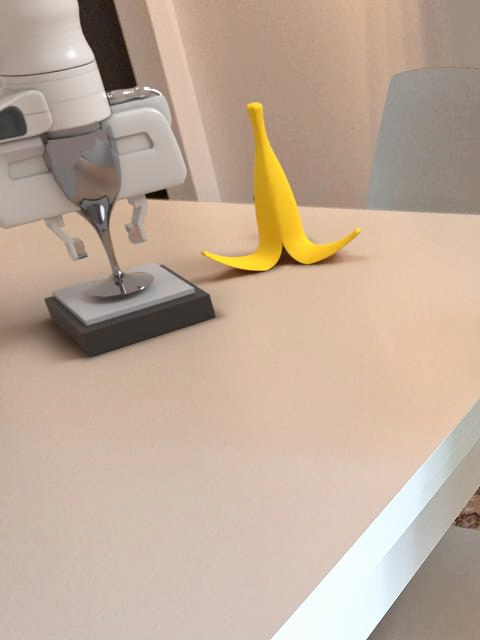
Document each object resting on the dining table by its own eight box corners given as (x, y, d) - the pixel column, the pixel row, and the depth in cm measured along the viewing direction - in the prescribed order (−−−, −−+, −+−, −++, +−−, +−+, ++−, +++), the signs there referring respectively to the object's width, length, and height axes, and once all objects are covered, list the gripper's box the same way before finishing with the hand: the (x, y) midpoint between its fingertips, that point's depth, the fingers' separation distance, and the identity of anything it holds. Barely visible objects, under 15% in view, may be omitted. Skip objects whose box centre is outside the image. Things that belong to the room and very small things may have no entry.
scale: (90, 357, 95) (79, 327, 93) (52, 320, 104) (41, 293, 102) (216, 317, 100) (208, 288, 98) (169, 285, 109) (161, 258, 107)
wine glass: (171, 271, 101) (126, 118, 92) (132, 298, 96) (80, 139, 86) (109, 270, 103) (59, 120, 94) (68, 297, 98) (9, 141, 88)
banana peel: (204, 282, 109) (160, 124, 98) (281, 230, 122) (250, 85, 111) (328, 288, 104) (297, 122, 93) (395, 233, 117) (374, 82, 106)
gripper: (150, 77, 94) (189, 219, 103) (-57, 119, 86) (5, 269, 95) (173, 84, 90) (211, 231, 99) (-42, 128, 82) (21, 284, 91)
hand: (109, 250), depth 97 cm, fingers closed on wine glass, 5 cm apart
